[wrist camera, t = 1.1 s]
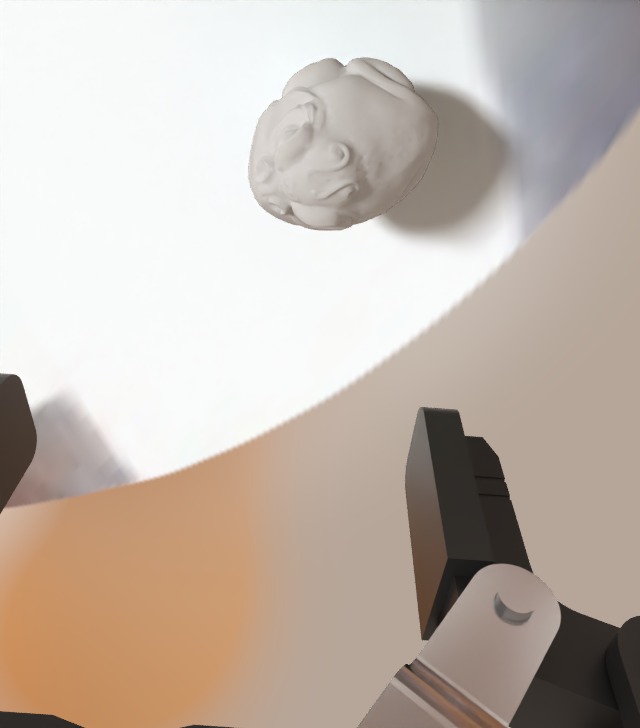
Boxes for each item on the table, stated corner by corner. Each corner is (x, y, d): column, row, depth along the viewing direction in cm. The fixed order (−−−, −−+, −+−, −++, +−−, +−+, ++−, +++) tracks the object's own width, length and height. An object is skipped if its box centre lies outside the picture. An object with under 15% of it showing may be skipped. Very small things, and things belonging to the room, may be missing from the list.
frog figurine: (241, 76, 24) (209, 118, 19) (407, 14, 23) (428, 39, 17) (292, 212, 28) (279, 282, 22) (440, 164, 26) (467, 228, 21)
